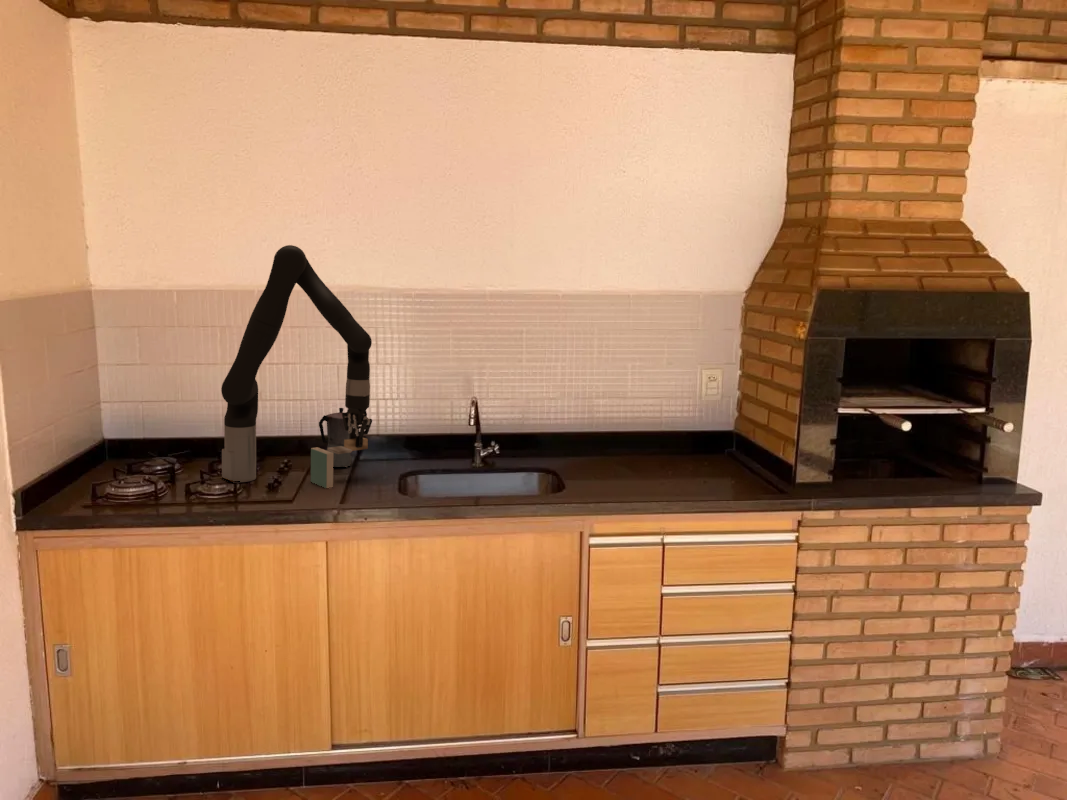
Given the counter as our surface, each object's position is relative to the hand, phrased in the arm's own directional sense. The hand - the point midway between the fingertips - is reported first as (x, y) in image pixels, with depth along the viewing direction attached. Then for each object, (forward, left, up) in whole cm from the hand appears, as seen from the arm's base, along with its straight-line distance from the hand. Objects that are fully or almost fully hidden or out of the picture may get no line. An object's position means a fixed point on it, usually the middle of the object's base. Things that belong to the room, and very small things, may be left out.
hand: (355, 445), depth 258 cm
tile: (-12, 0, -5) cm, 14 cm away
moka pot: (+4, +17, -11) cm, 20 cm away
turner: (-2, 0, -1) cm, 3 cm away
